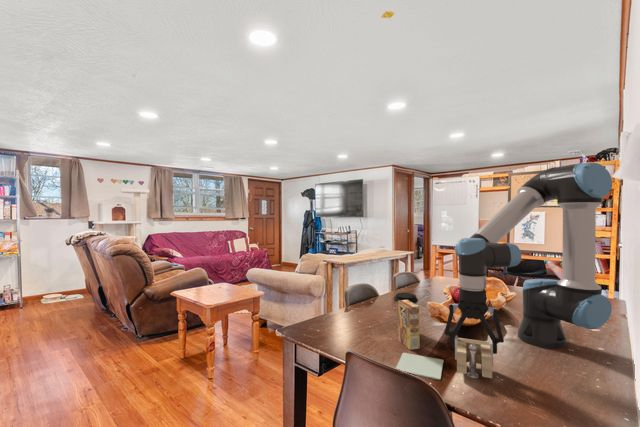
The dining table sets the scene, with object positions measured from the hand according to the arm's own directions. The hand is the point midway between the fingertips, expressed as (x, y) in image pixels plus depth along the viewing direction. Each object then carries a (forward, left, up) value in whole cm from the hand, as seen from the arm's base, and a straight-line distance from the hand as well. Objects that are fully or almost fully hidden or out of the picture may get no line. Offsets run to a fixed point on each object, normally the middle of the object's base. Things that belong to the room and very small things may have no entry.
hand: (473, 360), depth 98 cm
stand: (0, +5, -2) cm, 6 cm away
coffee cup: (+24, -22, -3) cm, 33 cm away
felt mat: (+15, +5, -2) cm, 16 cm away
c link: (0, +3, 0) cm, 3 cm away
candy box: (+21, -10, -3) cm, 24 cm away
